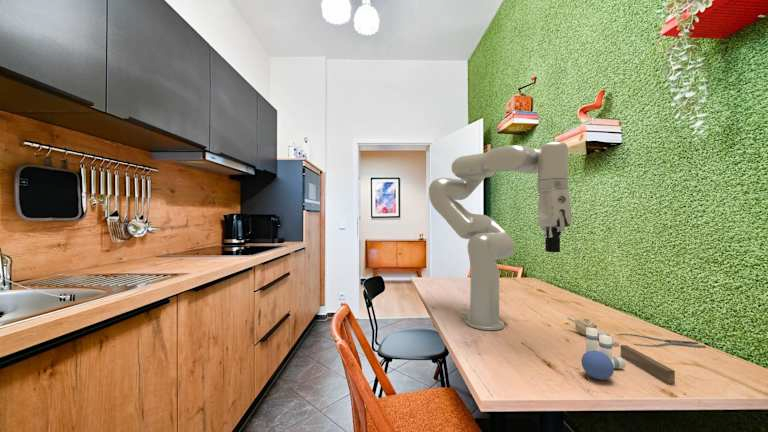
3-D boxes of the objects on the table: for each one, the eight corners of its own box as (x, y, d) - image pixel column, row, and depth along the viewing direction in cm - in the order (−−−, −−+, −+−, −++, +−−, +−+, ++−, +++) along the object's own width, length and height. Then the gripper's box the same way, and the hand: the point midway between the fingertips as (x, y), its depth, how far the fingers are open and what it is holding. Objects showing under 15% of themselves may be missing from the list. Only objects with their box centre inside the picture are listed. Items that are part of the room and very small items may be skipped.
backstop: (667, 384, 66) (667, 370, 66) (620, 356, 80) (620, 344, 80) (674, 384, 66) (674, 370, 66) (626, 356, 80) (626, 345, 80)
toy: (608, 334, 85) (563, 309, 99) (601, 351, 85) (557, 323, 99) (631, 339, 88) (584, 314, 102) (624, 355, 88) (578, 328, 103)
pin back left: (585, 363, 76) (585, 329, 76) (586, 359, 78) (586, 326, 78) (597, 366, 74) (597, 331, 74) (598, 362, 76) (598, 328, 76)
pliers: (612, 333, 97) (676, 334, 96) (612, 335, 97) (676, 336, 96) (637, 345, 87) (708, 346, 86) (637, 348, 87) (708, 349, 86)
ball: (587, 377, 71) (570, 358, 71) (605, 360, 71) (588, 340, 71) (606, 391, 65) (588, 370, 65) (626, 372, 65) (607, 351, 65)
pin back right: (598, 373, 71) (598, 336, 71) (599, 369, 73) (599, 333, 73) (612, 376, 69) (611, 339, 69) (612, 372, 71) (612, 336, 71)
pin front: (586, 355, 73) (622, 356, 73) (581, 357, 75) (616, 358, 75) (590, 366, 72) (627, 367, 71) (585, 368, 74) (620, 369, 73)
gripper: (582, 183, 78) (582, 254, 77) (552, 190, 93) (552, 249, 92) (552, 183, 78) (552, 254, 78) (527, 189, 93) (527, 249, 92)
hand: (552, 251), depth 85 cm, fingers closed
